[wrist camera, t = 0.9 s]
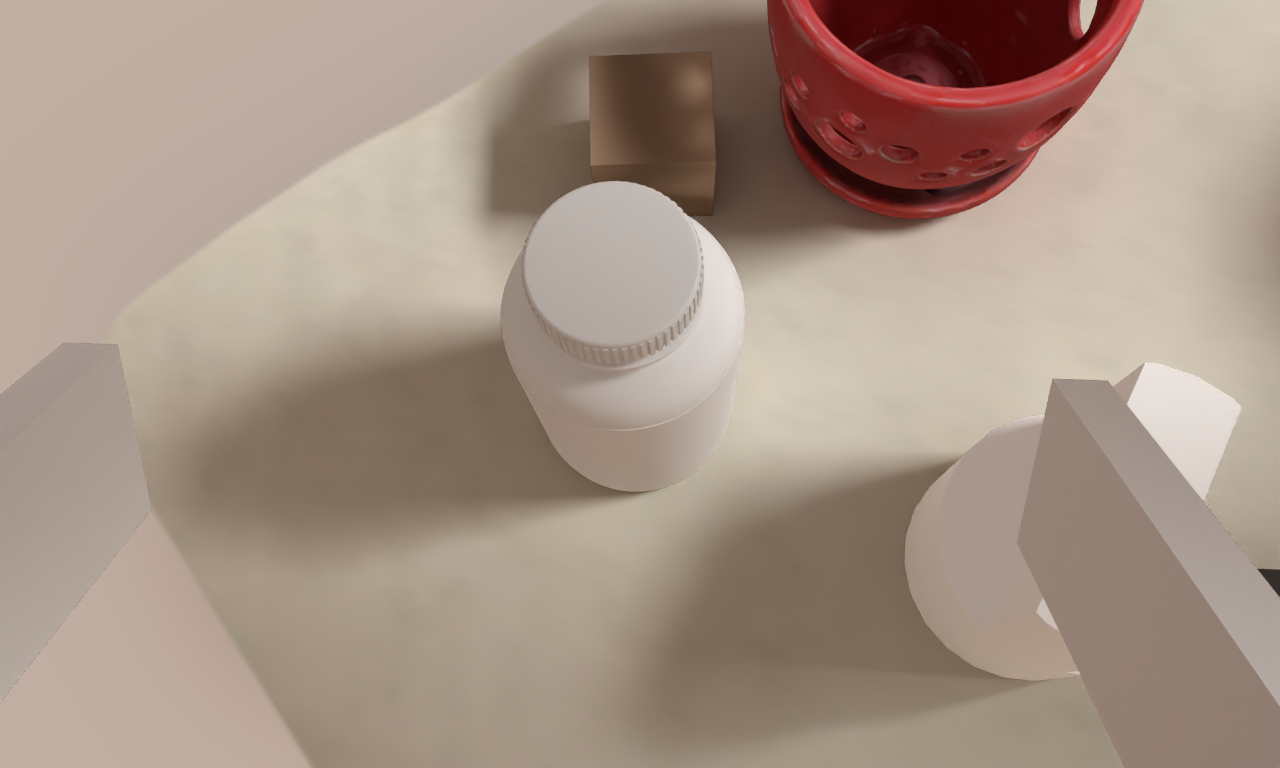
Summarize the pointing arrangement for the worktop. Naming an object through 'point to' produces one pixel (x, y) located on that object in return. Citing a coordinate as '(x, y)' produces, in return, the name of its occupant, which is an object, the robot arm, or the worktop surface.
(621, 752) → the worktop surface
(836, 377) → the worktop surface
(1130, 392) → the cylinder with rectangular tab
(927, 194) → the plant pot
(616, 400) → the pill bottle
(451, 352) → the worktop surface
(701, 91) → the brown cube
